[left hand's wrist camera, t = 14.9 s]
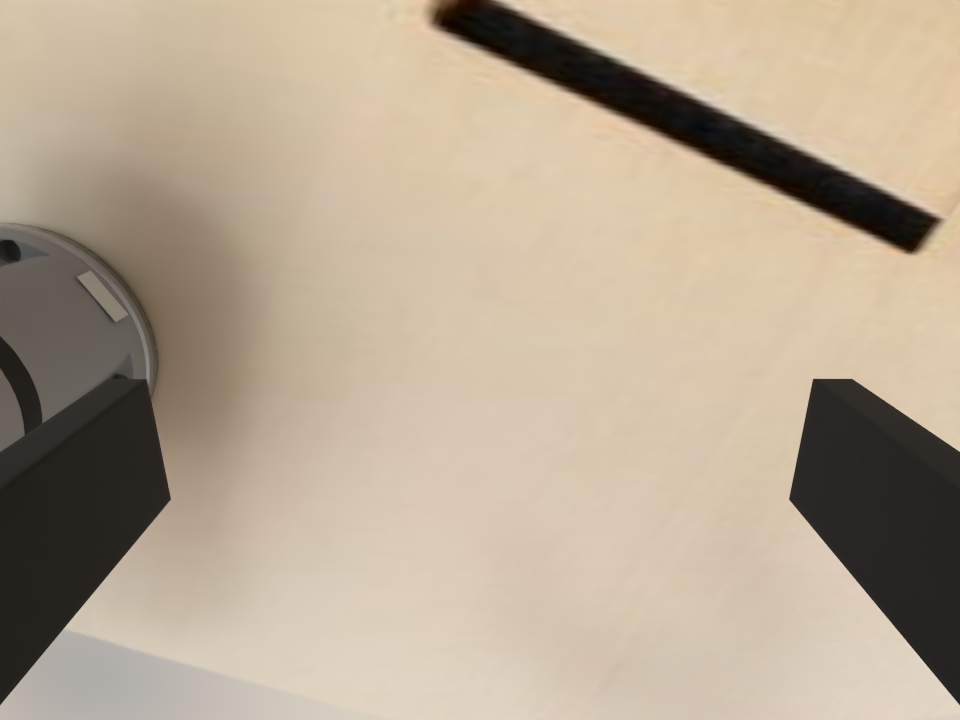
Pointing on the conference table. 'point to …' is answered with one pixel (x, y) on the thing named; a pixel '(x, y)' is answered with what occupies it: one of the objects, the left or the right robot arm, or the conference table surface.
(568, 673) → the conference table surface
